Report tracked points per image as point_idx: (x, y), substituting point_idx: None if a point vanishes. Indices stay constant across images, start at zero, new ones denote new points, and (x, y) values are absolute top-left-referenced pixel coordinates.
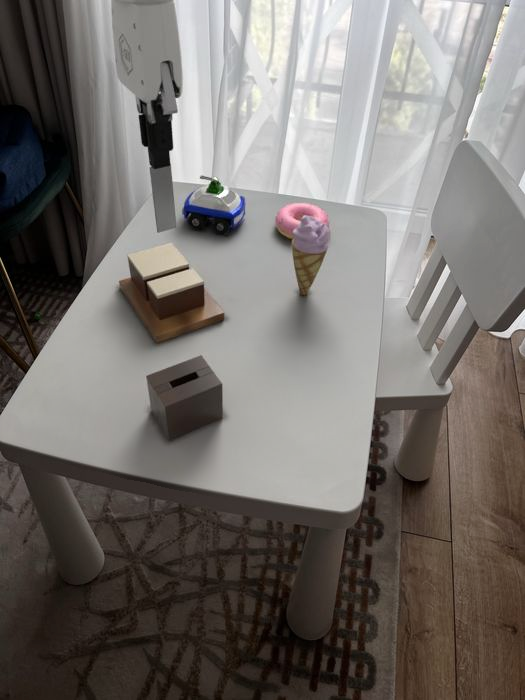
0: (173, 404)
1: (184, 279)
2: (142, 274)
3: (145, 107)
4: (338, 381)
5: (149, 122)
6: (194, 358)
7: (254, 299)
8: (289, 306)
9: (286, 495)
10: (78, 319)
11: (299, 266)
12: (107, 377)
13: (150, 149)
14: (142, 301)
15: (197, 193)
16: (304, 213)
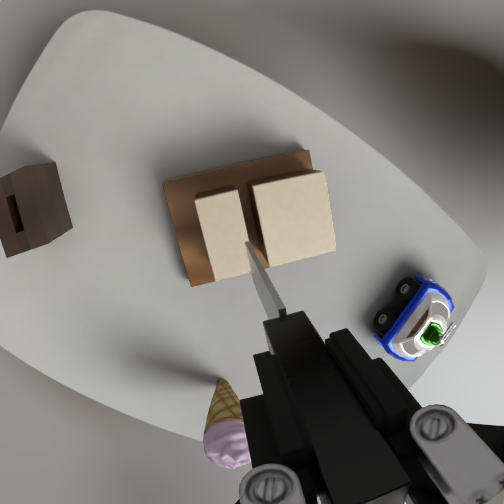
0: None
1: (227, 252)
2: (260, 186)
3: (361, 496)
4: (74, 366)
5: (278, 464)
6: (44, 233)
7: (224, 328)
8: (200, 362)
9: None
10: (247, 82)
11: (214, 406)
12: (118, 111)
13: (257, 364)
14: (247, 175)
15: (438, 308)
16: None
